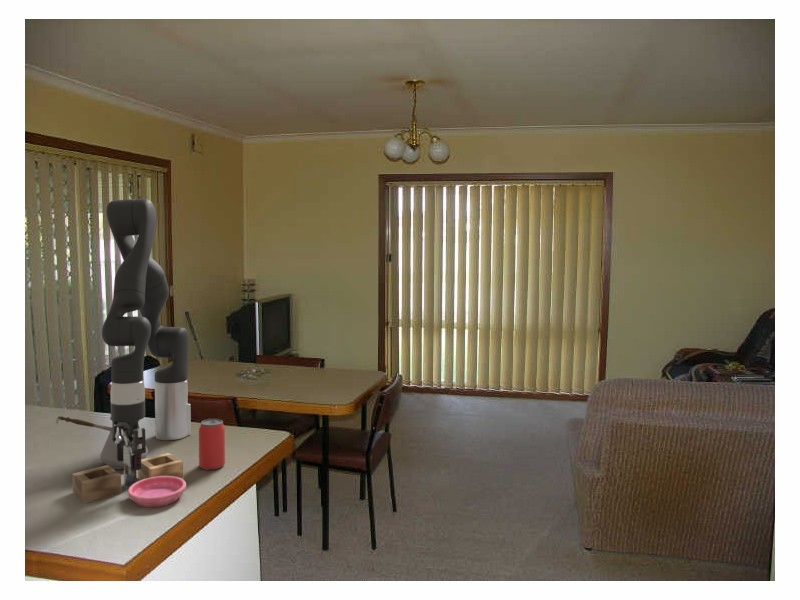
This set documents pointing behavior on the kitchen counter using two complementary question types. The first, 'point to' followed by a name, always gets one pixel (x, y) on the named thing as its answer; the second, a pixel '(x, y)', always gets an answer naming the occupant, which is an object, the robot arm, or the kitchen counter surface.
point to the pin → (128, 468)
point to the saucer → (157, 491)
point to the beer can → (211, 444)
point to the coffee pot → (109, 448)
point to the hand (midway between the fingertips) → (128, 464)
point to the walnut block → (96, 483)
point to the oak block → (161, 466)
